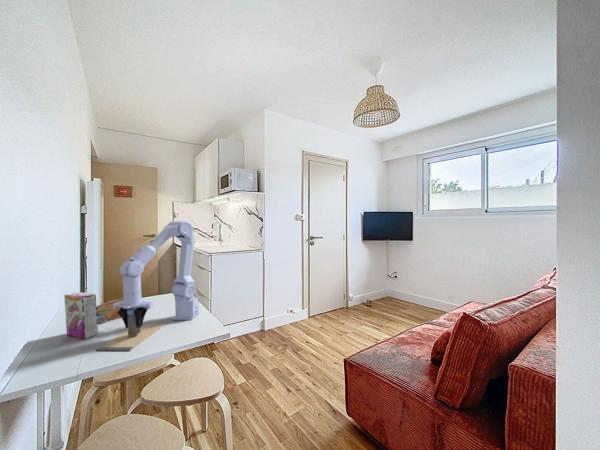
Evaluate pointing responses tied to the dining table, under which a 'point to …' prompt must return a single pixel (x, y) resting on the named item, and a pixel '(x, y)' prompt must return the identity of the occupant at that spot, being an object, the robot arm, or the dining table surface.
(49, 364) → the dining table surface
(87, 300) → the candy bar box
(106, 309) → the tin
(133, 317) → the blue grey cylinder
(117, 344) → the notepad
